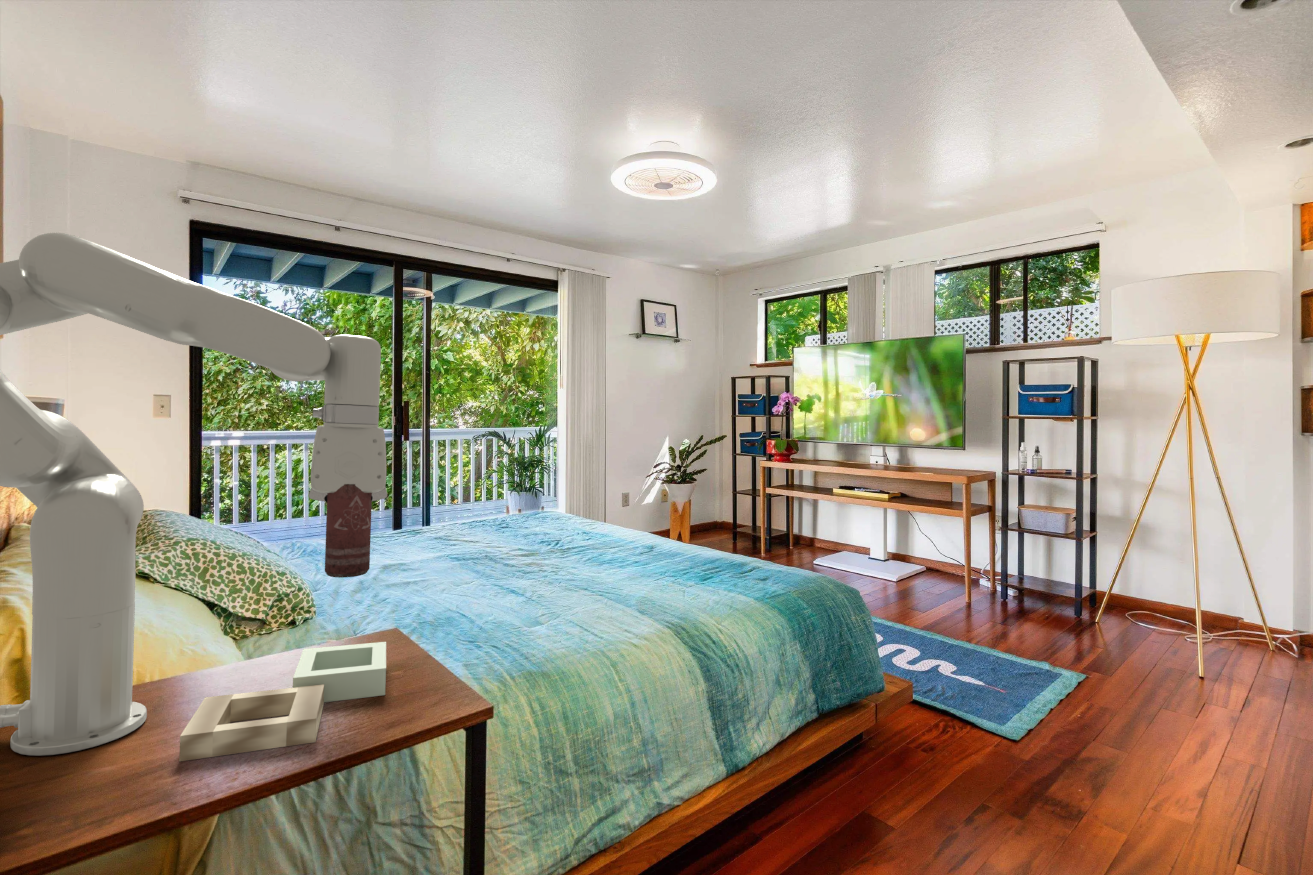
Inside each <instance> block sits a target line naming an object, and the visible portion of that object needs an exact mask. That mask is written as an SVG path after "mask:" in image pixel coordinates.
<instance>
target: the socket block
mask: <svg viewBox="0 0 1313 875" xmlns="http://www.w3.org/2000/svg"><path fill="white" fill-rule="evenodd" d="M324 704H325V702H324V684H322V685H313V686H304V687H295V688H293V687H288V688H278V689H270V690H260V691H259V690H258V691H251V692H243V693H242V692H241V693H233V694H223V695H215V696H207V697H204V699H203V700H202V702H201V703H200V705H199V706H198V707H197V710H196V711H195V712H194V713H193V715H192V717H191V718H190V719H189V722H188V723H187V725H186V726H185V728H184V729H183V730H182V732H181V734H180V736H179V755H178V757H179V760H178V761H179V762H185V761H192V760H193V761H194V760H199V759H206V758H214V757H219V756H227V755H233V754H234V755H235V754H242V753H249V752H256V751H264V750H270V749H276V748H284V747H291V746H298V745H305V744H310V743H316V742H317V737H318V733H319V728H320V723H321V718H322V715H323V714H322V713H323V709H324ZM271 717H272V718H271Z"/></svg>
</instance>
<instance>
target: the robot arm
mask: <svg viewBox="0 0 1313 875" xmlns="http://www.w3.org/2000/svg"><path fill="white" fill-rule="evenodd" d="M18 257H19V258H18V259H14V260H9V261H4V262H0V336H2V335H7V334H11V333H14V332H19V331H24V330H28V329H31V328H36V327H40V326H46V325H49V324H53V323H57V322H61V321H65V320H70V319H74V318H76V317H77V318H78V317H81V316H84V315H87V314H89V315H92V316H94V317H95V316H96V317H97V318H98V317H99V318H101V319H104V320H106V321H110V322H113V323H116V324H118V325H120V326H123V327H126V328H127V327H128V328H129V329H133V330H135V331H139V332H140V333H141V332H142V333H144V334H147V335H149V336H152V337H156V338H158V339H160V340H163V341H166V342H170V343H175V344H176V345H177V344H178V345H183V346H189V347H190V346H193V347H198V348H205V349H209V350H213V351H217V352H221V353H223V354H227V355H230V356H232V357H236V358H238V359H242V360H244V361H247V362H250V363H253V364H255V365H257V366H258V365H259V366H262V367H264V368H267V369H269V371H271V372H272V373H273V374H274V376H276V377H278V378H281V379H283V380H286V381H290V382H308V381H309V382H311V381H324V401H323V402H324V403H323V406H321V407H319V408H313V409H312V418H318V419H321V421H322V422H323V425H317V427H316V431H315V435H314V440H313V447H312V456H311V469H310V490H309V493H308V498H309V499H310V500H314V501H318V502H319V501H320V502H325V503H326V504H327V498H328V495H327V493H334V492H336V491H337V490H338V489H339V488H340V487H342V486H344V484H355V486H357V487H358V488H359V489H361V491H363V492H364V493H372V496H371V501H372V502H376V501H379V500H385V499H386V498H387V497H388V492H387V491H388V490H387V487H386V484H387V483H386V482H387V444H386V436H385V430H384V427H379V418H380V413H379V412H380V392H381V391H380V389H381V386H380V385H381V363H382V362H381V358H382V349H381V348H382V347H381V344H380V343H379V341H377V339H374V338H373V337H368V336H363V335H355V334H354V335H353V334H336V335H332V336H331V337H326V336H324V335H323V334H322V333H321V331H319V330H318V329H316V328H314V327H313V326H312V325H309V324H307V323H305V322H302V321H300V320H298V319H295V318H292V317H290V316H288V315H285V314H283V313H281V312H278V311H276V310H273V309H270V308H268V307H266V306H263V305H260V304H257V303H256V302H255V303H254V302H253V301H250V300H246V299H243V298H240V297H237V296H235V295H231V294H228V293H226V292H222V291H219V290H217V289H215V288H212V287H210V286H206V285H203V284H200V283H197V282H194V281H192V280H189V279H186V278H184V277H181V276H179V275H176V274H174V273H171V272H169V271H167V270H163V269H160V268H158V267H155V266H153V265H151V264H149V263H146V262H144V261H141V260H138V259H137V258H136V259H135V258H134V257H130V256H129V255H127V254H123V253H121V252H118V251H116V250H114V249H112V248H108V247H107V246H103V245H101V244H99V243H96V242H93V241H91V240H88V239H85V238H82V237H80V236H76V235H73V234H69V233H63V232H50V233H49V232H48V233H43V234H40V235H37V236H35V237H33V238H32V239H30V240H29V241H28V242H27V243H25V245H24V246H23V248H22V249H21V250H20V254H19V256H18ZM0 487H2V488H14V489H16V490H18V491H19V492H20V493H21V494H23V495H22V496H24V497H26V498H27V499H28V501H29V502H31V503H32V504H33V505H34V506H35V507H36V509H35V511H34V514H33V515H32V519H31V522H30V528H29V546H30V547H29V548H30V559H31V570H32V574H31V575H32V597H31V598H32V606H31V608H32V609H31V611H32V612H31V614H32V620H31V621H32V625H31V626H32V628H31V654H30V655H31V659H30V694H29V699H27V700H25V701H24V702H23V703H19V704H1V705H0V729H1V728H5V727H12V726H13V727H14V728H16V730H15V731H14V732H13V734H12V735H11V737H10V749H11V750H12V751H13V752H14V753H17V754H20V755H26V756H40V757H41V756H54V755H61V754H68V753H73V752H78V751H79V752H80V751H82V750H86V749H91V748H95V747H97V746H101V745H105V744H106V743H107V744H108V743H109V742H112V741H115V740H118V739H119V738H122V737H124V736H126V735H128V734H130V733H132V732H134V731H135V730H137V729H138V728H140V727H141V726H142V725H143V724H144V722H146V720H147V718H148V717H147V716H148V709H147V707H146V706H145V705H144V704H142V703H140V702H136V701H133V682H134V679H133V678H134V675H133V674H134V648H135V647H134V646H135V644H134V643H135V621H136V620H135V619H136V618H135V617H136V616H135V615H136V552H137V551H136V546H137V545H136V541H137V530H138V526H139V524H140V522H141V520H142V518H143V514H144V510H145V509H144V507H145V506H144V499H143V497H142V495H141V493H140V491H139V490H138V488H137V487H136V486H135V485H134V484H133V482H132V481H131V480H130V479H129V478H128V477H127V476H126V475H125V474H124V473H123V472H122V471H121V470H120V469H119V468H118V467H117V466H116V464H114V462H112V461H111V459H110V458H108V457H107V455H105V453H103V451H101V449H100V448H98V446H97V445H96V444H95V443H94V442H93V441H92V440H91V439H90V438H89V437H88V436H87V435H86V433H84V432H83V431H82V430H81V429H80V428H79V427H78V426H77V425H75V424H74V423H73V422H72V421H70V420H69V419H67V418H65V417H63V416H62V415H60V414H57V413H55V412H52V411H48V410H44V409H40V408H39V407H37V406H36V405H35V404H34V403H33V402H32V401H31V400H30V399H29V398H28V397H27V396H26V395H25V394H23V392H22V391H21V390H19V388H18V387H16V385H14V384H13V382H12V381H10V379H9V378H8V377H7V375H6V374H5V373H4V372H3V371H2V370H1V369H0Z"/></svg>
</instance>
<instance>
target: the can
mask: <svg viewBox="0 0 1313 875" xmlns="http://www.w3.org/2000/svg"><path fill="white" fill-rule="evenodd" d="M327 495H328V498H327V503H326V519H325V520H326V521H325V523H326V525H325V546H324V547H325V549H324V550H325V552H324V572H325V574H326V575H327V576H329V578H330V577H332V578H342V579H343V578H354V577H359V576H363V575H365V574H367V573H368V572H369V570H370V569H371V568H370V562H371V561H370V560H371V537H372V536H371V535H372V534H371V533H372V531H371V530H372V506H373V501H371V496H372V493H364V492H363V491H361V489H359V488H358V487H357V486H355V484H344V486H342V487H340V488H339V489H338V490H337V491H336V492H334V493H327Z"/></svg>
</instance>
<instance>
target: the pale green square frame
mask: <svg viewBox="0 0 1313 875" xmlns="http://www.w3.org/2000/svg"><path fill="white" fill-rule="evenodd" d="M386 677H387V641H377V642H369V643H366V642H365V643H357V644H356V643H355V644H345V645H335V646H333V645H332V646H322V647H313V648H303V649H302V652H301V654H300V658H299V661H298V663H297V666H296V669H295V671H294V674H293V676H292V688H295V687H304V686H313V685H322V684H324V703H329V702H337V701H346V700H356V699H362V698H372V697H378V696H379V697H380V696H385V695H386V680H387V678H386Z"/></svg>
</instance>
